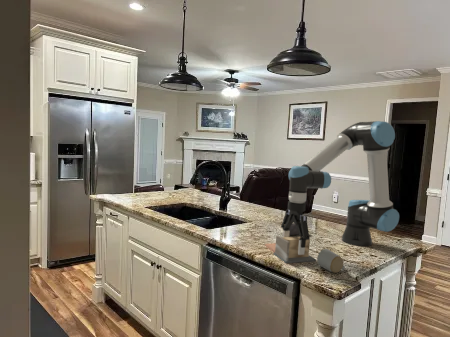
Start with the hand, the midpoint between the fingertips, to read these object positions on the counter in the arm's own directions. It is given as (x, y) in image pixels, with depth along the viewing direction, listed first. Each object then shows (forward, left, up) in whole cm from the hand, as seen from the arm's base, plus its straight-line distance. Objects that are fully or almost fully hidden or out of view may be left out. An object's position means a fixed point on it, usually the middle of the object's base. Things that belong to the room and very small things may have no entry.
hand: (292, 249), depth 143 cm
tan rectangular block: (-1, 0, -3) cm, 3 cm away
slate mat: (-1, 0, -4) cm, 4 cm away
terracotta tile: (-7, -12, -4) cm, 14 cm away
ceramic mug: (-10, +15, -4) cm, 18 cm away
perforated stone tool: (-22, -34, -4) cm, 41 cm away
